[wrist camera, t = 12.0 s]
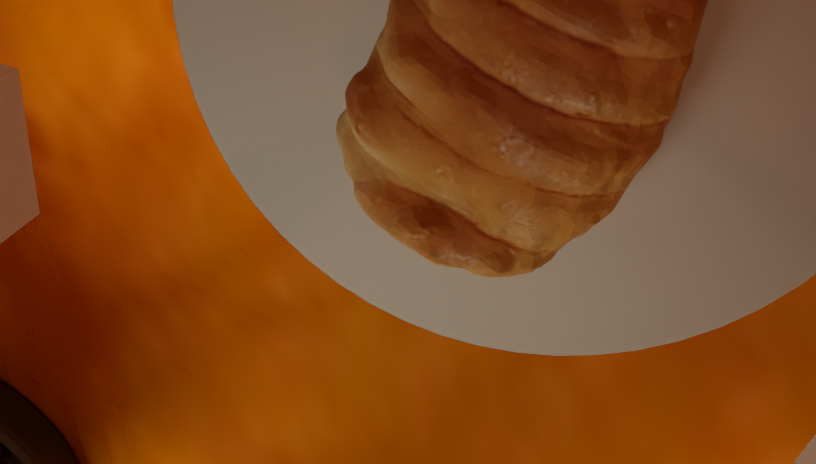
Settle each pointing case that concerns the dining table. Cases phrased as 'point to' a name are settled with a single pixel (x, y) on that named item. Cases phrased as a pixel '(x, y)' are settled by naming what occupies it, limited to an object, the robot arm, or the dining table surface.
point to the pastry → (510, 121)
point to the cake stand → (581, 257)
